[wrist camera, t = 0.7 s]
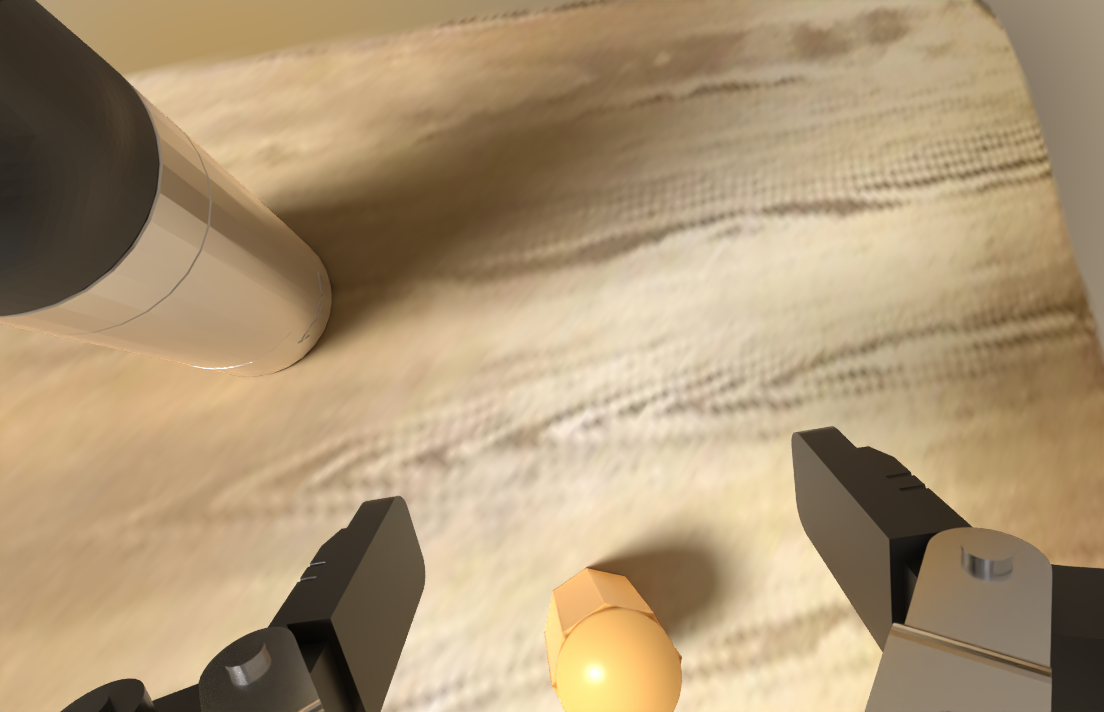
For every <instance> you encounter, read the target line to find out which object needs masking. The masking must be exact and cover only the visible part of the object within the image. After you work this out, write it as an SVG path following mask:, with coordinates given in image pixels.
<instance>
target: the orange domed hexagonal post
mask: <svg viewBox="0 0 1104 712" xmlns="http://www.w3.org/2000/svg"><path fill="white" fill-rule="evenodd" d="M544 633H545V640H546V648H547V655H548V663H549V671H550V678H551V686H552V688H553V689H554V691H555V692H556V694H557V695H558V697H559V699H560V701H561V704H562V707H563V709H564V711H565V712H673V711H674V709H675V707H676V705H677V702H678V699H679V696H680V691H681V683H682V672H681V659H682V657H681V655H680V654H679V652H678V651H677V650H676V648H675V647H674V645H673V643H672V641H671V640H670V638H669V637H668V636H667V634H666V632H665V631H664V629H663V628H662V626H661V625H660V623H659V621H658V620H657V618H656V617H655V615H654V613H653V611H652V610H651V609H650V608H649V606H648V605H647V604H646V602H645V601H644V600H643V598H642V597H641V596H640V595H639V593H638V592H637V591H636V589H635V588H634V587H633V585H632V584H631V583H630V582H629V580H628V579H627V578H626V576H622V575H617V574H612V573H607V572H603V571H598V570H593V569H589V568H586V569H584V570H583V571H581V572H580V573H578V574H577V575H576V576H574V577H573V578H571V579H570V580H568V581H567V582H565V583H564V584H563V585H561V586H560V587H558V588H557V589H555V590H553V594H552V599H551V604H550V609H549V614H548V619H547V624H546V629H545V632H544Z"/></svg>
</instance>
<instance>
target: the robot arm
mask: <svg viewBox="0 0 1104 712" xmlns="http://www.w3.org/2000/svg"><path fill="white" fill-rule="evenodd" d="M331 304H332V295H331V284H330V281H329V277H328V274H327V271H326V269H325V267H324V265H323V264H322V262H321V260H320V258H319V257H318V256H317V255H316V253H315V252H314V251H313V250H312V249H311V248H310V247H309V246H308V245H307V244H306V243H305V242H304V241H303V240H302V239H301V238H299V237H298V236H297V235H296V234H295V233H294V232H293V231H292V230H291V229H290V228H288V226H287V225H286V224H285V223H283V222H282V221H281V220H280V219H279V218H278V217H277V216H276V215H275V214H274V213H272V212H271V211H270V210H269V209H268V208H267V207H266V206H265V205H264V204H263V203H261V202H260V201H259V200H258V199H257V198H256V197H255V196H254V195H253V194H251V193H250V192H249V191H248V190H247V189H246V188H245V187H244V186H243V185H242V184H240V183H239V182H238V181H237V180H236V179H235V178H234V177H233V176H232V175H231V174H229V173H228V172H227V171H226V170H225V169H224V168H223V167H222V166H221V165H219V164H218V163H217V162H216V161H215V160H214V159H213V158H212V157H211V156H210V155H208V154H207V153H206V152H205V151H204V150H203V149H202V148H201V147H200V146H199V145H197V144H196V143H195V142H194V141H193V140H192V139H191V138H190V137H189V136H188V135H186V134H185V133H184V132H183V131H182V130H181V129H180V128H179V127H178V126H176V125H175V124H174V123H173V122H172V121H171V120H170V119H169V118H168V117H166V116H165V115H164V114H163V113H162V112H161V111H159V110H158V109H157V108H156V107H155V106H154V105H153V104H152V103H151V102H150V101H148V100H147V99H146V98H145V97H144V96H143V95H142V94H141V93H140V92H139V91H137V90H136V89H135V88H134V87H133V86H132V85H131V84H130V83H129V82H128V81H126V80H125V78H124V77H123V76H122V75H121V74H120V73H119V72H117V71H116V70H115V69H114V68H113V67H112V66H111V65H110V64H108V63H107V62H106V61H105V60H104V59H103V58H102V57H100V56H99V55H98V54H97V53H96V52H95V51H93V50H92V49H91V48H90V47H89V46H88V45H87V44H85V43H84V42H83V41H82V40H81V39H80V38H78V37H77V36H76V35H75V34H74V33H73V32H71V31H70V30H69V29H68V28H67V27H66V26H65V25H63V24H62V23H61V22H60V21H59V20H58V19H57V18H55V17H54V16H53V15H52V14H51V13H50V12H48V11H47V10H46V9H45V8H44V7H43V6H41V5H40V4H39V3H38V2H37V1H36V0H0V324H2V325H6V326H11V327H15V328H20V329H25V330H29V331H34V332H40V333H45V334H50V335H54V336H59V337H63V338H68V339H72V340H77V341H81V342H86V343H90V344H95V345H100V346H104V347H109V348H113V349H118V350H122V351H127V352H131V353H136V354H141V355H145V356H150V357H154V358H159V359H163V360H168V361H172V362H177V363H181V364H186V365H190V366H194V367H198V368H203V369H208V370H213V371H218V372H222V373H227V374H232V375H237V376H260V375H266V374H271V373H274V372H277V371H279V370H282V369H284V368H287V367H289V366H290V365H292V364H293V363H295V362H296V361H298V360H299V359H301V358H303V357H304V356H305V355H306V354H307V353H308V352H309V351H310V350H311V349H312V348H313V347H314V345H315V344H316V342H317V341H318V339H319V338H320V336H321V335H322V333H323V332H324V329H325V327H326V324H327V322H328V319H329V316H330V310H331ZM792 456H793V468H794V479H795V491H796V502H797V508H798V513H799V517H800V520H801V523H802V526H803V528H804V530H805V532H806V534H807V536H808V537H809V539H810V540H811V542H812V543H813V545H814V547H815V548H816V550H817V551H818V553H819V554H820V556H821V557H822V559H823V561H824V562H825V564H826V565H827V567H828V568H829V570H830V571H831V573H832V574H833V576H834V578H835V579H836V581H837V582H838V584H839V585H840V587H841V588H842V590H843V591H844V593H845V595H846V596H847V598H848V599H849V601H850V602H851V604H852V605H853V607H854V609H855V610H856V612H857V613H858V615H859V616H860V618H861V619H862V621H863V622H864V624H865V626H866V627H867V629H868V630H869V632H870V633H871V635H872V636H873V638H874V639H875V641H876V643H877V644H878V646H879V647H880V649H881V650H882V652H883V654H882V658H881V661H880V664H879V667H878V671H877V674H876V677H875V680H874V684H873V687H872V690H871V693H870V696H869V700H868V703H867V706H866V709H865V712H1104V569H1102V568H1087V567H1072V566H1061V565H1053V564H1050V562H1049V560H1048V559H1047V557H1046V556H1045V555H1044V554H1043V553H1042V552H1041V551H1040V550H1038V549H1037V548H1036V547H1034V546H1033V545H1031V544H1030V543H1028V542H1026V541H1024V540H1022V539H1020V538H1017V537H1015V536H1012V535H1009V534H1006V533H1003V532H999V531H995V530H991V529H984V528H973V527H972V526H971V525H970V524H968V523H967V522H966V521H965V520H964V519H963V518H962V517H961V516H959V515H958V514H957V513H956V512H955V511H954V510H953V509H952V508H950V507H949V506H948V505H947V504H946V503H945V502H944V501H943V500H942V499H940V498H939V497H938V496H937V495H936V494H935V493H934V492H933V491H931V490H930V489H929V488H926V487H925V484H924V483H922V482H921V481H920V480H919V479H918V478H917V477H916V476H915V475H913V476H912V475H911V472H910V471H909V470H908V469H907V468H906V467H904V466H903V465H902V464H901V463H900V462H899V461H898V460H897V459H895V458H894V457H892V456H890V455H888V454H885V453H883V452H881V451H878V450H876V449H874V448H871V447H869V446H867V447H861V448H856V447H855V446H854V445H853V444H852V443H851V442H850V441H849V440H848V439H847V438H846V437H845V436H844V435H843V434H842V433H841V432H840V431H839V430H838V429H837V428H835V427H833V426H831V427H825V428H819V429H813V430H807V431H801V432H795V433H793V435H792ZM300 579H301V581H300V582H297V584H296V586H295V587H294V589H293V590H292V592H291V593H290V595H289V596H288V598H287V599H286V601H285V602H284V604H283V605H282V607H281V608H280V610H279V611H278V613H277V614H276V616H275V617H274V619H273V620H272V622H271V623H270V625H269V626H268V628H264V629H261V630H257V631H255V632H252V633H250V634H247V635H245V636H243V637H241V638H240V639H238V640H236V641H234V642H233V643H232V644H230V645H229V646H227V647H226V648H225V649H223V650H222V651H221V652H220V653H219V654H218V655H216V656H215V657H214V658H213V659H212V661H211V662H210V663H209V664H208V665H207V667H206V668H205V670H204V671H203V673H202V675H201V677H200V680H199V684H196V685H193V686H191V687H188V688H185V689H183V690H180V691H177V692H175V693H172V694H169V695H167V696H164V697H161V698H159V699H156V700H153V701H152V700H151V698H150V696H149V694H148V692H147V690H146V688H145V686H144V685H143V683H142V682H141V681H140V680H137V679H121V680H117V681H114V682H111V683H108V684H105V685H103V686H101V687H98V688H96V689H94V690H92V691H90V692H89V693H87V694H85V695H83V696H82V697H80V698H79V699H77V700H76V701H74V702H73V703H71V704H70V705H68V706H67V707H66V708H65V709H63V710H62V711H61V712H381V709H382V706H383V703H384V700H385V697H386V695H387V692H388V689H389V686H390V683H391V680H392V678H393V675H394V672H395V669H396V666H397V663H398V661H399V658H400V655H401V652H402V649H403V646H404V644H405V641H406V638H407V635H408V632H409V629H410V626H411V624H412V621H413V618H414V615H415V612H416V609H417V607H418V604H419V601H420V598H421V595H422V592H423V589H424V585H425V565H424V559H423V556H422V552H421V549H420V546H419V543H418V540H417V536H416V533H415V530H414V527H413V523H412V520H411V517H410V514H409V511H408V507H407V505H406V502H405V501H404V499H403V498H402V497H401V496H395V497H389V498H383V499H377V500H371V501H365V502H364V503H362V505H361V506H360V508H359V509H358V511H357V513H356V514H355V516H354V517H353V519H352V521H351V522H350V524H349V525H348V527H347V528H344V529H341V530H340V531H339V532H337V533H336V534H335V535H334V536H333V537H332V538H330V539H329V540H328V541H327V542H326V543H325V544H323V545H322V546H321V548H320V549H319V551H318V552H317V554H316V555H315V557H314V558H313V560H312V561H311V563H310V567H307V569H306V570H305V572H304V573H303V575H302V576H301V578H300Z"/></svg>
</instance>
